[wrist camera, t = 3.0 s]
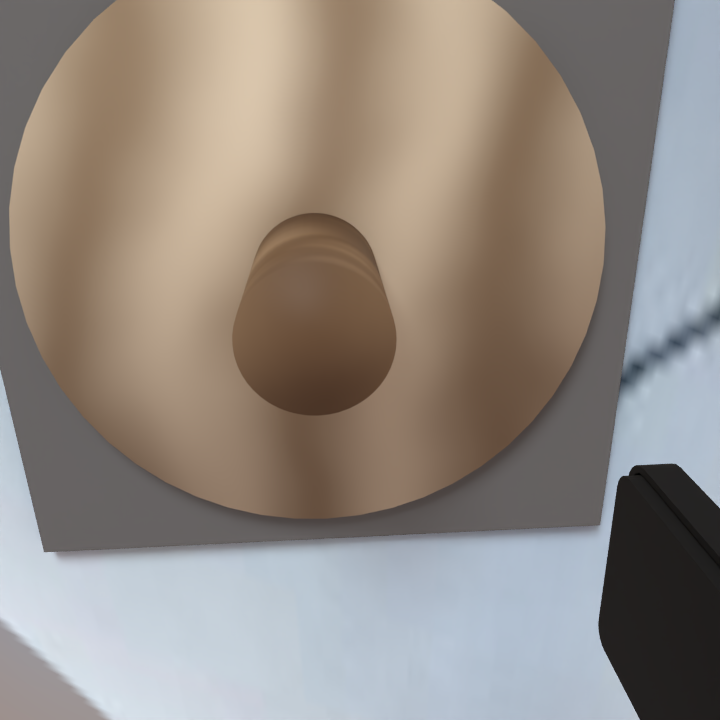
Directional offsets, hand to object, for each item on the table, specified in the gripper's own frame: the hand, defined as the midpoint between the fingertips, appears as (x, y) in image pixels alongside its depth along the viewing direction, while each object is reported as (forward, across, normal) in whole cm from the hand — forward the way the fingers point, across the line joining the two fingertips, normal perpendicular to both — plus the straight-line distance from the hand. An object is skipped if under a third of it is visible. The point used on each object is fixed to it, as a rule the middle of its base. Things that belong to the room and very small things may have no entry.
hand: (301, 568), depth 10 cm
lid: (+14, 0, -1) cm, 15 cm away
